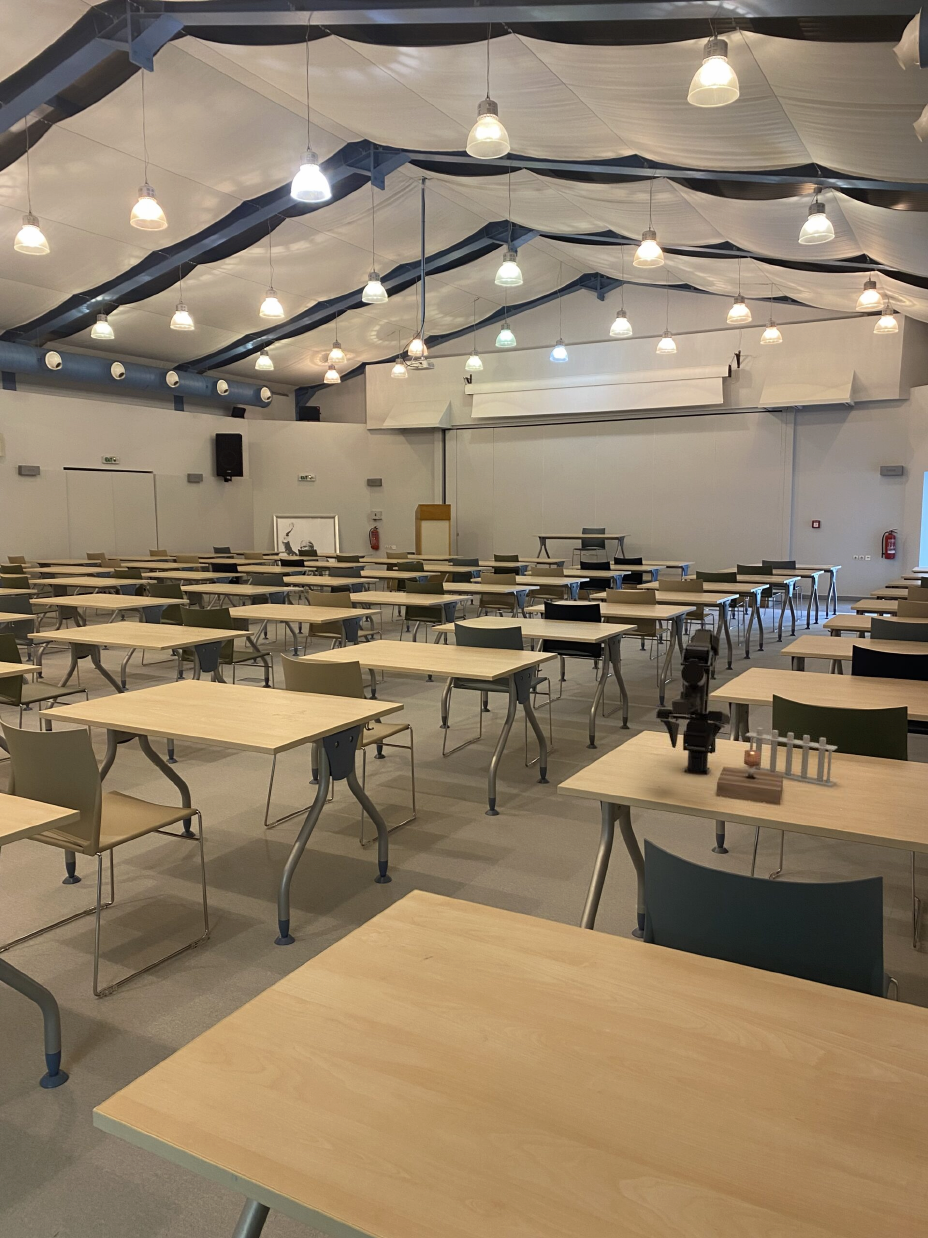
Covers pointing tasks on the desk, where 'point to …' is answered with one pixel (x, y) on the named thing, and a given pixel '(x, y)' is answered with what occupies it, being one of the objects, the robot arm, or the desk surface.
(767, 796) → the press housing
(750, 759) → the plunger
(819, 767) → the test tube rack
